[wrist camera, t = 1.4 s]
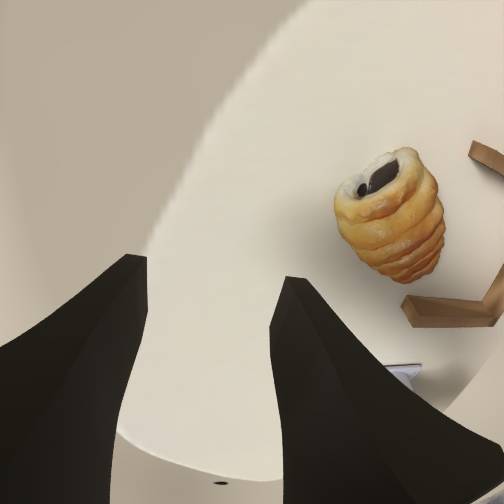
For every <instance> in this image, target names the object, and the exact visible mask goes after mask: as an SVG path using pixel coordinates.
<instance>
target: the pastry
mask: <svg viewBox="0 0 504 504" xmlns="http://www.w3.org/2000/svg"><path fill="white" fill-rule="evenodd" d="M437 193H438V185H437V182H436V180H435V178H434V176H433V175H432V174H431V173H430V172H429V171H428V170H427V169H426V168H425V167H424V165H423V164H422V162H421V160H420V159H419V156H418V153H417V151H416V150H414V149H412V148H408V147H403V148H401V149H399V150H395V151H394V152H392V153H389V152H387V153H385V154H383V155H381V156H380V157H378V158H376V159H375V161H374V162H373V163H371V164H370V165H369V166H368V167H367V168H366V169H365V171H364V172H363V173H361V174H359V175H355V176H353V177H351V178H349V179H348V180H347V181H345V182H344V183H342V184H341V185H340V187H339V189H338V191H337V193H336V195H335V198H334V211H335V215H336V218H337V223H338V228H339V232H340V234H341V236H342V237H343V238H344V239H345V240H346V241H347V242H348V243H349V244H350V245H351V247H352V248H353V249H354V250H355V252H356V253H357V255H358V256H359V258H360V259H361V260H362V261H364V262H366V263H367V264H368V265H369V266H370V267H371V268H372V269H375V270H377V271H378V272H379V273H380V274H382V275H386V276H389V277H390V278H391V279H392V280H393V281H395V282H398V283H401V284H408V283H411V282H413V281H415V280H417V279H419V278H421V277H422V276H423V275H427V274H430V273H432V272H433V270H434V268H435V266H436V264H437V263H438V260H439V257H440V252H441V249H442V247H443V246H444V237H443V234H444V232H445V230H446V228H445V223H444V220H443V213H444V209H443V206H442V203H441V201H440V200H439V198H438V197H437Z"/></svg>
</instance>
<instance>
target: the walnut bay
mask: <svg viewBox="0 0 504 504" xmlns="http://www.w3.org/2000/svg"><path fill="white" fill-rule="evenodd" d="M468 156H470V157H472V158H474V159H475V160H477V161H479V162H481V163H483V164H484V165H486V166H488V167H489V168H491V169H493V170H495V171H496V172H498V173H499V174H501V175H503V176H504V155H502V154H501V153H499V152H498V151H496V150H494V149H492V148H490V147H488V146H485V145H483V144H481V143H479V142H476V141H474V140H473V142H472V145H471V149H470V152H469V155H468ZM401 308H402V310H403V312H404V313H405V315H406V317H407V318H408V320H409V322H410V324H411V326H412V327H413V328H460V327H493V326H494V325H495V323H496V322H497V321H498V319H499V318H500V316H501V315H502V313H503V312H504V264H503V266H502V268H501V270H500V272H499V273H498V275H497V277H496V279H495V280H494V282H493V284H492V286H491V287H490V289H489V291H488V292H487V294H486V296H485V297H484V299H483V300H482V302H480V301H467V300H454V299H442V298H430V297H419V296H408V295H407V296H406V298H405V300H404V302H403V303H402V305H401Z"/></svg>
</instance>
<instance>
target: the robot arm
mask: <svg viewBox="0 0 504 504" xmlns="http://www.w3.org/2000/svg"><path fill="white" fill-rule="evenodd" d="M147 313H148V301H147V257H145V256H138V255H131V254H125V255H124V256H123V257H122V258H120V259H119V260H118V261H117V262H116V263H114V264H113V265H112V266H110V267H109V268H108V269H107V270H106V271H105V272H103V273H102V274H101V275H100V276H99V277H97V278H96V279H95V280H94V281H93V282H91V283H90V284H89V285H88V286H87V287H85V288H84V289H83V290H82V291H80V292H79V293H78V294H77V295H75V296H74V297H73V298H71V299H70V300H69V301H68V302H66V303H65V304H64V305H62V306H61V307H60V308H58V309H57V310H56V311H55V312H53V313H52V314H51V315H49V316H48V317H47V318H45V319H44V320H42V321H41V322H40V323H38V324H37V325H35V326H34V327H32V328H31V329H29V330H28V331H26V332H25V333H23V334H21V335H20V336H18V337H17V338H15V339H14V340H12V341H10V342H8V343H7V344H5V345H3V346H1V347H0V504H110V482H111V468H112V458H113V449H114V441H115V434H116V427H117V421H118V416H119V411H120V407H121V403H122V400H123V396H124V393H125V390H126V387H127V383H128V380H129V377H130V374H131V371H132V368H133V365H134V362H135V359H136V356H137V352H138V349H139V346H140V343H141V340H142V336H143V331H144V327H145V322H146V317H147ZM269 330H270V358H271V365H272V371H273V378H274V384H275V390H276V396H277V402H278V408H279V414H280V420H281V429H282V445H283V480H284V481H283V483H284V484H283V487H284V488H283V493H284V494H283V504H470V503H472V502H474V501H476V500H477V499H479V498H480V497H482V496H484V495H485V494H487V493H488V492H490V491H491V490H493V489H494V488H495V487H497V486H498V485H500V484H501V483H502V482H504V452H503V450H502V448H501V446H500V445H499V444H497V443H495V442H492V441H491V440H488V439H486V438H484V437H482V436H480V435H478V434H476V433H474V432H472V431H470V430H469V429H467V428H465V427H463V426H462V425H460V424H458V423H457V422H455V421H454V420H452V419H450V418H449V417H447V416H446V415H444V414H443V413H441V412H440V411H438V410H437V409H435V408H434V407H432V406H431V405H430V404H429V403H427V402H426V401H425V400H423V399H422V398H421V397H419V396H418V395H417V394H415V393H414V391H413V388H412V386H411V384H410V382H411V380H412V379H413V378H414V377H415V376H416V375H417V373H418V372H419V371H420V370H421V368H422V367H421V365H408V366H392V367H384V366H383V365H382V364H381V363H380V362H379V361H378V360H377V359H376V358H375V357H374V356H373V355H372V354H371V353H370V352H369V350H368V349H367V348H366V347H365V346H364V345H363V344H362V343H361V342H360V341H359V340H358V339H357V338H356V337H355V335H354V334H353V333H352V332H351V331H350V330H349V329H348V328H347V326H346V325H345V324H344V323H343V322H342V321H341V319H340V318H339V317H338V316H337V315H336V313H335V312H334V311H333V310H332V309H331V307H330V306H329V305H328V304H327V303H326V301H325V300H324V299H323V298H322V296H321V295H320V294H319V293H318V292H317V290H316V289H315V288H314V287H313V286H312V284H311V283H310V282H309V281H308V280H307V279H305V278H297V277H289V276H286V277H285V281H284V284H283V287H282V290H281V293H280V296H279V299H278V302H277V305H276V308H275V311H274V314H273V317H272V321H271V323H270V326H269ZM476 504H504V489H503V490H502V491H500V492H498V493H496V494H495V495H493V496H491V497H488V498H486V499H484V500H483V501H481V502H479V503H476Z"/></svg>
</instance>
